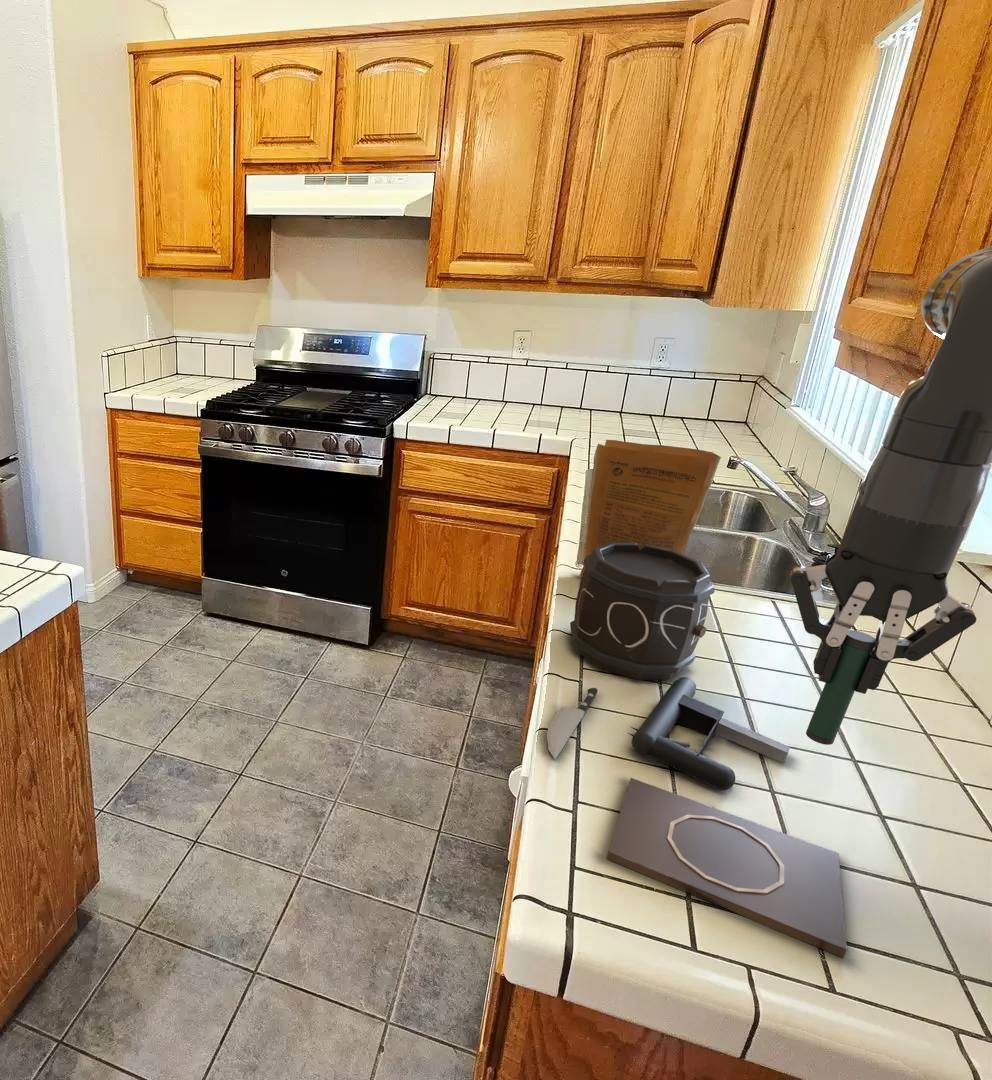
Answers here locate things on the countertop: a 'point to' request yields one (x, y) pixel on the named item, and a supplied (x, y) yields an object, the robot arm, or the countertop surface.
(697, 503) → the pancake mix bag
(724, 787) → the door handle
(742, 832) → the drawing board
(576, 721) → the chef's knife
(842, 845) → the countertop surface
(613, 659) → the coffee canister
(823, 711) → the marker
